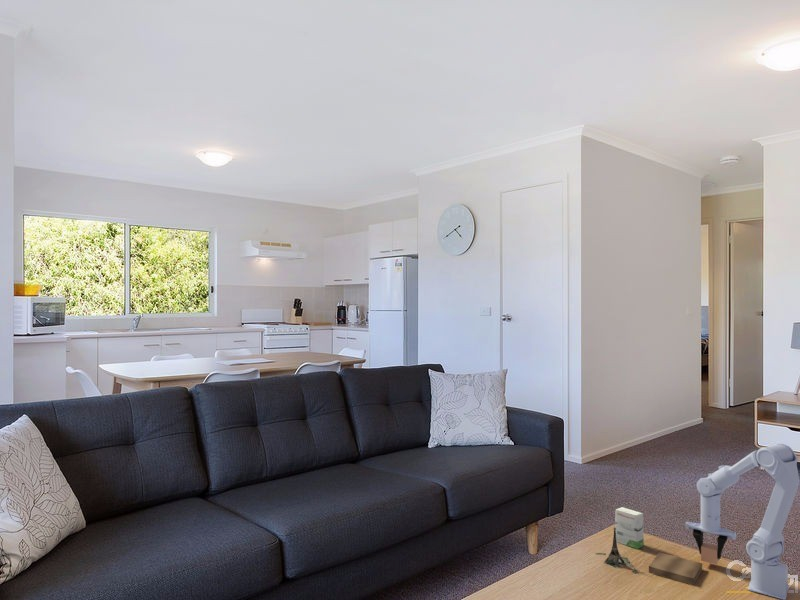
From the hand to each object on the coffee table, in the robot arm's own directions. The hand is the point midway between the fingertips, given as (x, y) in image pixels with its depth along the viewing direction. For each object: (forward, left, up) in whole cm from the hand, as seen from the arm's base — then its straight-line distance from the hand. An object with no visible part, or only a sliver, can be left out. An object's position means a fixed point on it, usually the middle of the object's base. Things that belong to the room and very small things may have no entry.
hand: (710, 555), depth 189 cm
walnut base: (+8, +11, -3) cm, 14 cm away
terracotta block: (0, 0, -1) cm, 1 cm away
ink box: (+26, -1, -4) cm, 26 cm away
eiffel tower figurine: (+25, +17, -4) cm, 31 cm away
